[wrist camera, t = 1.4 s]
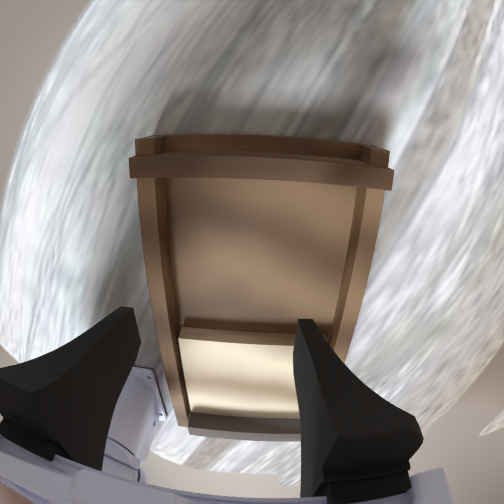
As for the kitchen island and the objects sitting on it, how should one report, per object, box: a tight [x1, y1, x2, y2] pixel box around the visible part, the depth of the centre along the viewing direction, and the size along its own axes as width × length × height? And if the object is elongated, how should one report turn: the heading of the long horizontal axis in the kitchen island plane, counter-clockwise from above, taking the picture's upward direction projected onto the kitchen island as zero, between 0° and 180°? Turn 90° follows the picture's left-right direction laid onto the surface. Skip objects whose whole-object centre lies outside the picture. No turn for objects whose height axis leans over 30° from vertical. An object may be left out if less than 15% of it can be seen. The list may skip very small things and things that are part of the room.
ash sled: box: [178, 327, 327, 441], centre depth 25 cm, size 12×12×4 cm
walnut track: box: [129, 134, 394, 427], centre depth 23 cm, size 28×15×4 cm, turn 178°
